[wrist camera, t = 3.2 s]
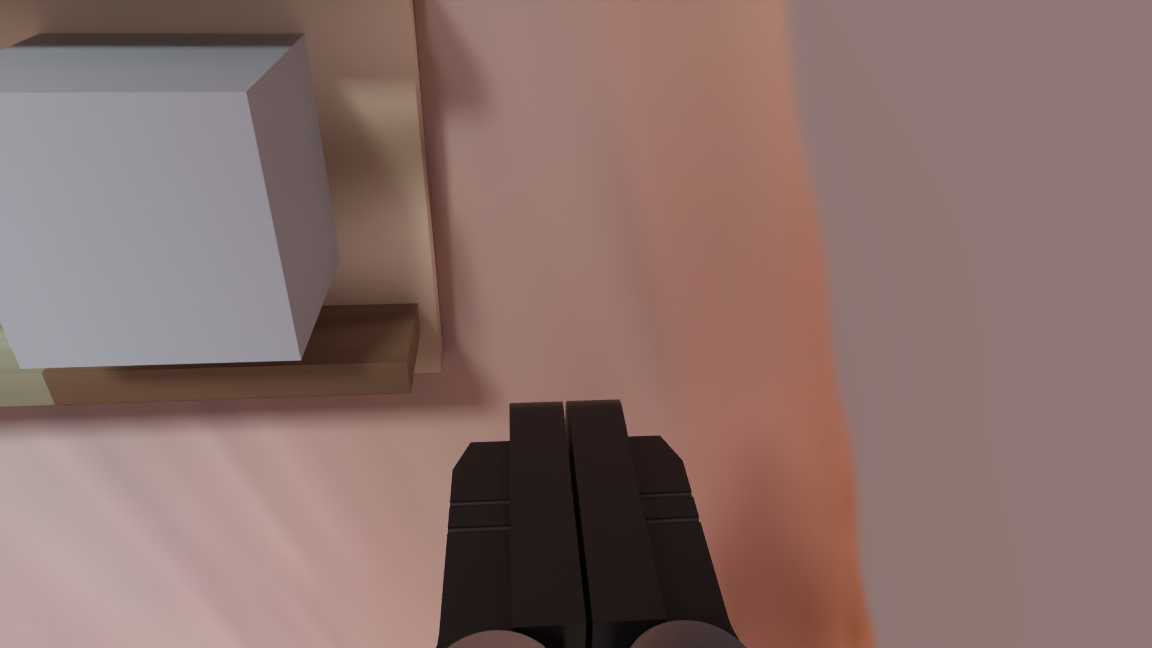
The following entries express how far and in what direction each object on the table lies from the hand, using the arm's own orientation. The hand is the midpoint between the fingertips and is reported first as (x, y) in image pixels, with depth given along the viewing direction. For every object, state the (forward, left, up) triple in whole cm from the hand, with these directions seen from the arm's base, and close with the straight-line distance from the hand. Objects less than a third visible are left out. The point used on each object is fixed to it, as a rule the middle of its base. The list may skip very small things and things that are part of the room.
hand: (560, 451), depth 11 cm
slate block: (0, -8, -12) cm, 14 cm away
